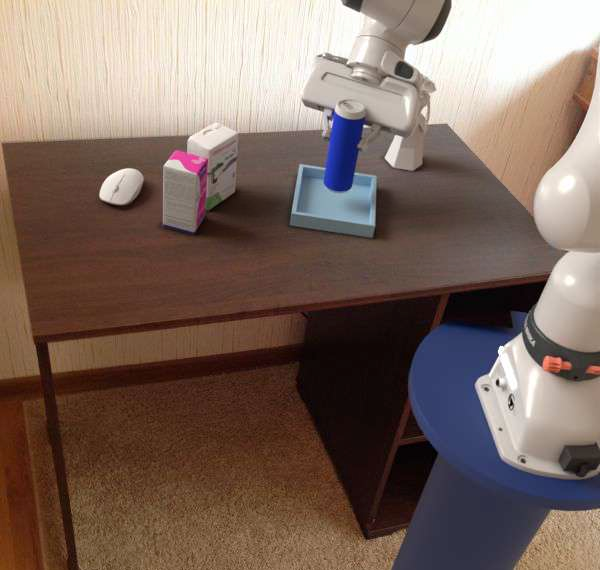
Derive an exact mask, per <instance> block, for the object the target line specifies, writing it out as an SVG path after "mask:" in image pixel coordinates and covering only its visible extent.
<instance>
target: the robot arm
mask: <svg viewBox="0 0 600 570" xmlns="http://www.w3.org/2000/svg"><path fill="white" fill-rule="evenodd" d="M340 1H341V4H342V6H344V7H346V8H349V9H351V10H352V11H355V12H357V13H361V14H362V15H364V17H363V25H362V27H361V30H360V31H359V33H358V34H357V36H356V38H355V40H354V43H353V45H352V48H351V50H350V52H349V53H350V54H349V56H348V58H346V57H343V56H338V55H333V54H332V53H329V52H323V53H321V54H318V55H316V56H314V57H313V58H312V61H311V62H310V63H311V64H310V67H309V72H308V74H307V76H306V78H305V80H304V82H303V84H302V86H301V88H300V92H299V97H300V100H301V102H302V104H303V105H304V107H306V108H309V109H312V110H315V111H319V112H322V118H323V125H324V128H323V132H322V133H321V139H322V140H324V141H327V142H330V137H331V130H332V127H331V125H330V122H333V117H334V111H335V107H336V105H337V103H338V102H339V101H341V100H346V99H349V100H355V101H358V102H360V103H362V104H363V105H364V106H365V112H366V115H365V121H364V126H366V127H369V128H370V131H371V132H370V133H369V134H368V135H367V136H366V137H365V138H364V137H361V138H360V141H359V143H358V145H357V149H358V150H359V152H362V153H364V154H366V153H367V151H368V149H369V146H370V144H372V143H373V142H374V141H376V140H377V139H378V138H379V137H380V136H381V133H382V131H383V132H386V133H389V134H392V135H394V136H395V135H398V136H401V137H404V138H406V137H408V136H410V135H411V134H412V133H413V130H414V127H415V124H416V121H417V117H418V112H419V94H420V92H421V89H422V78H421V74H420V73H421V72H420V71H419V70H418V68H416V67H415V66H414V65H411V64H410V63H409V62H407V61H406V60H405V56H406V50H407V48H408V46H409V45H412V46H417V45H421V44H424V43H427V42H430V41H433V40H435V39H436V38H438V37H439V36H440V35H441V33H442V32H443V29H444V27H445V25H446V23H447V20H448V18H449V16H450V13H451V10H452V6H453V5H452V4H453V2H452V0H340ZM595 72H596V74H595V80H594V86H593V92H592V96H591V100H590V104H589V106H588V110H587V112H586V115H585V117H584V120H583V122H582V125H581V126H580V128H579V131H578V133H577V134H576V136H575V138H574V140H573V141H572V143H571V145H570V146H569V147H568V149H567V151H566V152H565V153H564V154H563V155H562V156H561V158H560V159H559V160H558V161H557V162H555V164H554V165H552V167H550V168H549V169H548V170H547V171H546V172H545V174H544V175H543V176H542V178H541V179H540V181H539V183H538V185H537V187H536V189H535V194H534V198H533V207H532V209H533V219H534V222H535V223H534V224H535V226H536V229H537V230H538V233H539V234H540V236H541V237H542V239H543V240H544V241H545V243H546V244H547V245H549V246H550V247H552V248H554V249H556V250H560V251H566V253H565V254H564V255H563V256H562V257H561V258H559V260H558V261H557V262H556V264H555V265H554V266H553V268H552V270H551V273H550V275H549V277H548V279H547V281H546V284H545V286H544V288H543V290H542V292H541V294H540V297H539V299H538V301H537V302H536V303H535V304H534V305H533V306H532V308H531V309H530V310H529V311H528V313H529V314H528V315H527V317H526V320H525V323H524V326H523V328H522V332H521V333H520V334H519V335H518V336H517V337H515V338H514V339H513V340H511V341H510V342H508V343H507V344H506V345H505V346H504V348H503V347H502V346H500V349H499V351H498V352H499V357H498V358H497V360H496V362H495V364H494V366H493V368H492V370H491V371H490V373H489V374H487V375H484V376H482V377H480V378H479V379H478V380H477V382H476V383H475V388H476V391H477V394H478V397H479V399H480V402H481V405H482V408H483V411H484V413H485V416H486V419H487V422H488V425H489V427H490V430H491V433H492V436H493V439H494V442H495V444H496V447H497V450H498V453H499V455H500V457H501V459H502V460H503V461H504V462H506V463H507V464H509V465H511V466H513V467H515V468H517V469H519V470H522V471H524V472H528V473H531V474H535V475H539V476H544V477H550V478H557V479H569V480H578V479H587V478H591V477H594V476H596V475H598V474H599V472H600V45H599V48H598V57H597V65H596V71H595ZM567 251H568V252H567ZM522 462H523V463H522Z"/></svg>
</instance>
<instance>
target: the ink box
mask: <svg viewBox="0 0 600 570" xmlns="http://www.w3.org/2000/svg"><path fill="white" fill-rule="evenodd" d="M186 141H187V147H186V148H187V151H186V153H189V154H193V155H197V156H201V157H205V158H208V170H207V188H206V206H205V211H207V212H208V211H210V210H212V209H213V208H214V207H216V206H217V205H219V204H220V203H221V202H223V201H224V200H226V199H227V198H229V197H230V196H231V195H233V194H234V193H236V181H237V180H236V179H237V178H236V177H237V163H238V162H237V161H238V146H239V145H238V144H239V131H236V130H234V129H232V128H230V127H227V126H225V125H224V124H222V123H220V122H213V123H212V124H210V125H208V126H207V127H205V128H203V129H201V130H200V131H198V132H196V133H194V134H192V135H190V136H189V138H188V139H187V140H186Z"/></svg>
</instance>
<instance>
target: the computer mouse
mask: <svg viewBox="0 0 600 570" xmlns="http://www.w3.org/2000/svg"><path fill="white" fill-rule="evenodd" d="M144 181H145V180H144V176H143V174H142V173H141V171H139V170H138V169H135V168H131V167H130V168H129V167H128V168H127V167H126V168H123V169H119V170H117V171H115V172H113V173H111V174H110V175H108V176H107V177H106V179H105V180H104V181H103V183H102V185H101V187H100V190H99V194H98V195H99V199H100V200H101V201H103V203H106V204H109V205H112V206H118V207H119V206H120V207H121V206H127V205H129V204H131V203H132V202H133V201H134V200H135V199H136V198H137V197H138V196H139V194H140V193H141V190H142V187H143V184H144Z"/></svg>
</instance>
